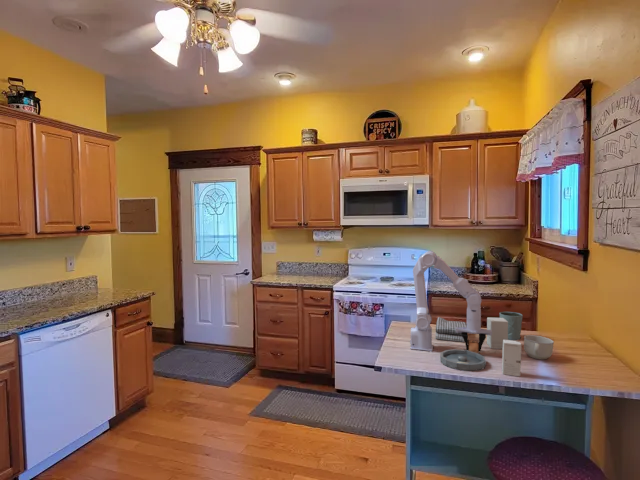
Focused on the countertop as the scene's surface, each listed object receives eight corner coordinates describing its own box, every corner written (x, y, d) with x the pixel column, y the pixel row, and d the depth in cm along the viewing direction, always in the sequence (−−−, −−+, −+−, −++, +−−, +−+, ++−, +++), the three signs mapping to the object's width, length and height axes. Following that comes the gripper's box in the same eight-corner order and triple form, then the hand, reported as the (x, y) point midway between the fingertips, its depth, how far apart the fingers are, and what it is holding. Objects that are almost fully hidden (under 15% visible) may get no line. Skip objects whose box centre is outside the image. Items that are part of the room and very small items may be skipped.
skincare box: (502, 374, 139) (503, 342, 138) (501, 370, 143) (502, 339, 142) (521, 376, 136) (521, 344, 136) (519, 372, 141) (520, 340, 140)
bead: (468, 354, 160) (468, 342, 160) (467, 351, 164) (467, 339, 164) (479, 355, 159) (479, 343, 159) (478, 352, 163) (478, 340, 163)
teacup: (528, 350, 164) (528, 332, 164) (556, 356, 156) (556, 338, 156) (517, 359, 154) (517, 340, 154) (547, 366, 147) (547, 346, 146)
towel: (434, 340, 180) (434, 324, 180) (435, 330, 198) (435, 315, 197) (468, 343, 175) (468, 327, 175) (466, 332, 193) (466, 317, 192)
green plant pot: (497, 338, 182) (497, 314, 181) (500, 333, 190) (501, 310, 189) (520, 342, 176) (521, 317, 175) (523, 336, 184) (523, 312, 184)
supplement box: (508, 349, 166) (508, 321, 165) (490, 348, 167) (490, 320, 167) (503, 344, 173) (503, 317, 173) (486, 343, 175) (486, 316, 174)
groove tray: (440, 367, 145) (440, 361, 145) (440, 353, 162) (440, 347, 161) (487, 373, 140) (487, 366, 140) (483, 357, 156) (483, 351, 156)
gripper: (456, 320, 159) (455, 351, 160) (493, 322, 155) (492, 354, 155) (455, 316, 166) (455, 346, 167) (491, 318, 161) (490, 349, 162)
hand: (473, 350), depth 161 cm, fingers closed on bead, 4 cm apart
